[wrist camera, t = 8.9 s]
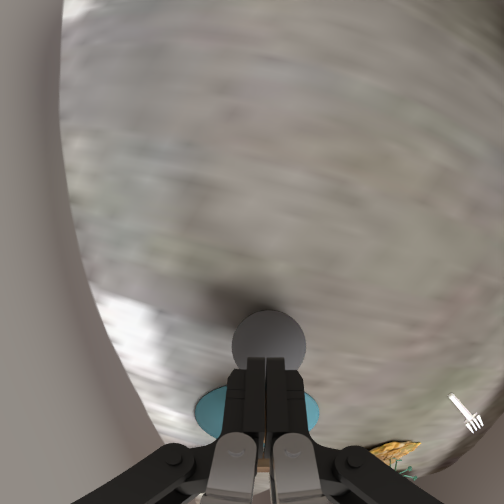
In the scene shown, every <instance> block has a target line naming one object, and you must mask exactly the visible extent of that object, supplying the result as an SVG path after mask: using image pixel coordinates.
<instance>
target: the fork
mask: <svg viewBox="0 0 504 504" xmlns="http://www.w3.org/2000/svg"><path fill="white" fill-rule="evenodd" d="M448 397H449V398H450V399H451V400H452V401H453V403H454V404H455V405H456V406H457V408H458V409H459V410H460V411H461V413H462V414H463V415H464V416H465V418H466V420H465V421H464V423H466V422H468V421H470V420H471V419H473V418H474V417H475V415H476V414H477V413H475V414H473V415H472V414H471V413H470V412H469V411H468V410H467V409H466V408H465V406H464V405H463V404H462V403H461V402H460V401H459V400H458V399H457V397H456V396H455V395H454V394H453V393H450V394H449V395H448ZM476 418H477V419H478V420H479V422H480V423H481V425H482V426H483V423H482V420H481V417H480V415H478V416H477V417H476ZM473 420H474V422H475V423H476V424H477V426H478V427H479V428H480V426H479V424H478V422H477V420H476V419H475V418H474V419H473ZM470 423H471V424H472V425H473V427H474V428H475V430H476V431H477V428H476V426H475V425H474V423H473V422H472V421H470ZM466 426H467V427H468V428H469V430H470V431H471V432H472V433H474V432H473V430H472V428H471V426H470V425H469V423H468V424H466Z"/></svg>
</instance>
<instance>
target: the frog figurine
mask: <svg viewBox="0 0 504 504" xmlns="http://www.w3.org/2000/svg"><path fill="white" fill-rule="evenodd" d="M420 444H421V443H420V442H418V443H413V442H411V441H407V442H403V443H399V442H391V443H387V444H384V445H382V446H380V447H377V448H374V449H372V450H370V452H371V453H372V454H374V455H375V456H376V457H377V458H379V459H380V460H381V461H383V462H384V463H386V464H387V465H390V467H391V464H392V463H394V462H395V461H396V464H395V471H396V466H397V461H402V460H399V459H400V458H401V457H403V455H407V454H408V453H409V452H411V451H413V450H415V449H416V448H417V447H418V445H420ZM407 470H409V471H411V470H412V467H411V466H409V467H408V469H407ZM407 470H405V471H407ZM405 471H403V472H405ZM403 472H401V473H403ZM401 473H399V474H401ZM404 476H406V477H410V478H413V480H416V479H417V476H414V477H411V476H407V475H404ZM404 476H403V477H404Z"/></svg>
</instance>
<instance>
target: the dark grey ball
mask: <svg viewBox="0 0 504 504" xmlns="http://www.w3.org/2000/svg"><path fill="white" fill-rule="evenodd" d="M232 353H233V358H234V360H235V363H236V364H237V366H238V367H239V369H247V357H265V374H266V358H267V357H284V359H285V370H297V369H298V368H299V367H300V365H301V364H302V362H303V359H304V356H305V353H306V340H305V336H304V333H303V331H302V329H301V327H300V326H299V324H298V323H297V322H296V321H295V320H294V319H293V318H291V317H290V316H288V315H287V314H285V313H282V312H279V311H273V310H265V311H259V312H256V313H254V314H252V315H250V316H248V317H247V318H246V319H244V320H243V321H242V322H241V324H240V325H239V326H238V328H237V329H236V331H235V333H234V336H233V340H232Z"/></svg>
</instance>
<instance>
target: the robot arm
mask: <svg viewBox="0 0 504 504" xmlns="http://www.w3.org/2000/svg"><path fill="white" fill-rule="evenodd" d="M263 447H264V459H270V471H269V483H270V494H271V504H328V500H329V501H330V502H332V503H333V504H444V503H442V502H440V501H439V500H437V499H436V498H434V497H433V496H431V495H430V494H428V493H427V492H425V491H424V490H422V489H421V488H419V487H418V486H416V485H415V484H413V483H412V482H411V481H409V480H408V479H406V478H405V477H403V476H402V475H401V474H399V473H398V472H396V471H395V470H394V469H392V468H391V467H390V466H388V465H387V464H386V463H384V462H383V461H381V460H380V459H379V458H377V457H376V456H375V455H374V454H372V453H371V452H370V451H368V450H367V449H365V448H363V447H361V446H348V447H345V448H343V449H342V450H337V449H332V448H327V447H323V446H321V445H319V444H317V443H316V442H315V441H314V440H313V439H312V438H311V436H310V434H309V430H308V421H307V411H306V402H305V393H304V384H303V379H302V377H301V375H300V374H299V372H298V371H297V370H285V359H284V357H267V358H266V374H265V357H247V369H234V370H233V371H232V373H231V374H230V376H229V377H228V382H227V391H226V400H225V407H224V415H223V424H222V431H221V434H220V436H219V437H218V438H217V439H216V440H215V441H214V442H213V443H211V444H209V445H206V446H202V447H196V448H190V449H189V448H187V447H186V446H184V445H182V444H178V443H169V444H166V445H163V446H162V447H160V448H159V449H157V450H156V451H154V452H153V453H152V454H150V455H149V456H147V457H146V458H144V459H143V460H141V461H140V462H138V463H137V464H136V465H134V466H132V467H131V468H129V469H128V470H127V471H125V472H123V473H122V474H120V475H119V476H117V477H115V478H114V479H112V480H111V481H109V482H107V483H106V484H104V485H103V486H101V487H99V488H97V489H96V490H94V491H92V492H91V493H89V494H87V495H85V496H84V497H82V498H80V499H79V500H77V501H75V502H73V503H71V504H187V503H188V502H190V501H191V500H192V499H194V498H195V497H196V496H198V495H199V494H200V493H204V492H205V494H203V496H202V498H201V501H200V504H252V497H253V489H254V481H255V476H256V474H257V467H258V459H262V458H263ZM327 499H328V500H327Z"/></svg>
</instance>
